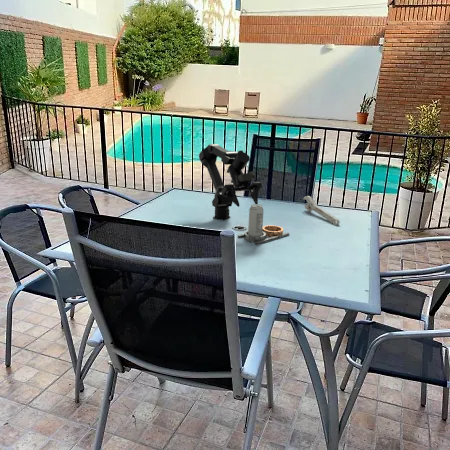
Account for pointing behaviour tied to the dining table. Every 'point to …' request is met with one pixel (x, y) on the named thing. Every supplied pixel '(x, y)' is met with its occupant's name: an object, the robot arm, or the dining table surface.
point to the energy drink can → (255, 220)
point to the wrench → (319, 210)
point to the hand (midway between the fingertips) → (248, 205)
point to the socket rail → (268, 231)
